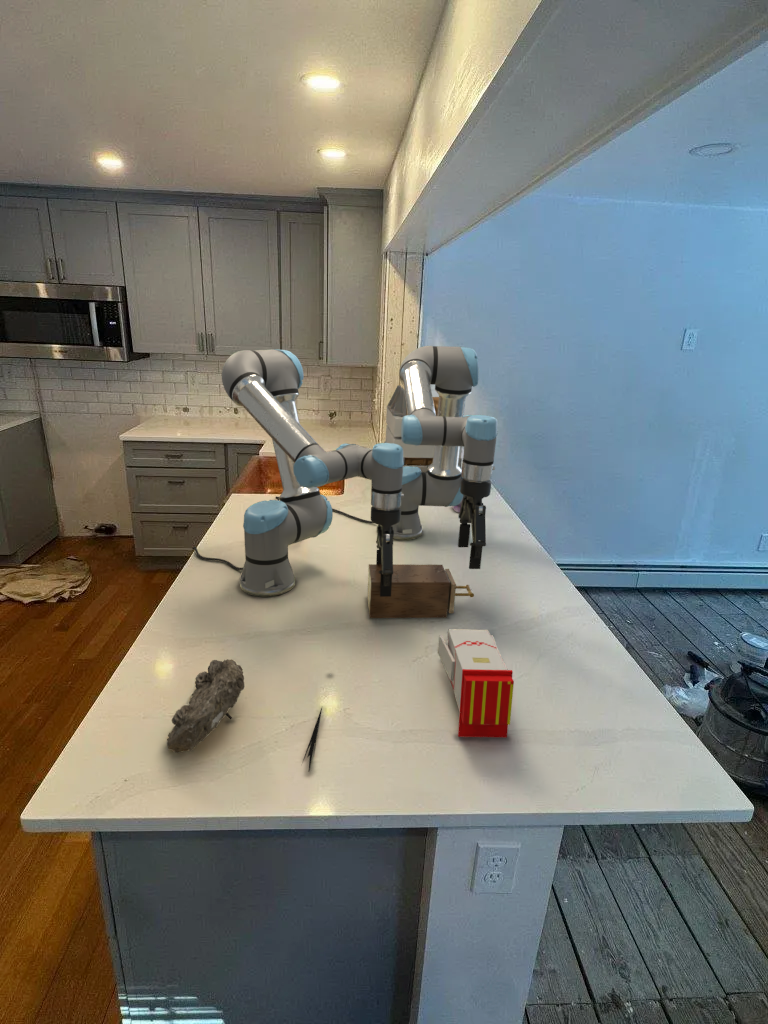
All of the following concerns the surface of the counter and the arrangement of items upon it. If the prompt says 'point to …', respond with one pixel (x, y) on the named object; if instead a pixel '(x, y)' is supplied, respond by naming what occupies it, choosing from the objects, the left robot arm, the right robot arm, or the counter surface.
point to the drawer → (453, 589)
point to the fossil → (206, 705)
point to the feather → (313, 740)
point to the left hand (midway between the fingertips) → (383, 583)
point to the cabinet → (409, 592)
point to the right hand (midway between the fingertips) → (468, 557)
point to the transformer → (394, 415)
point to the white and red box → (478, 682)
